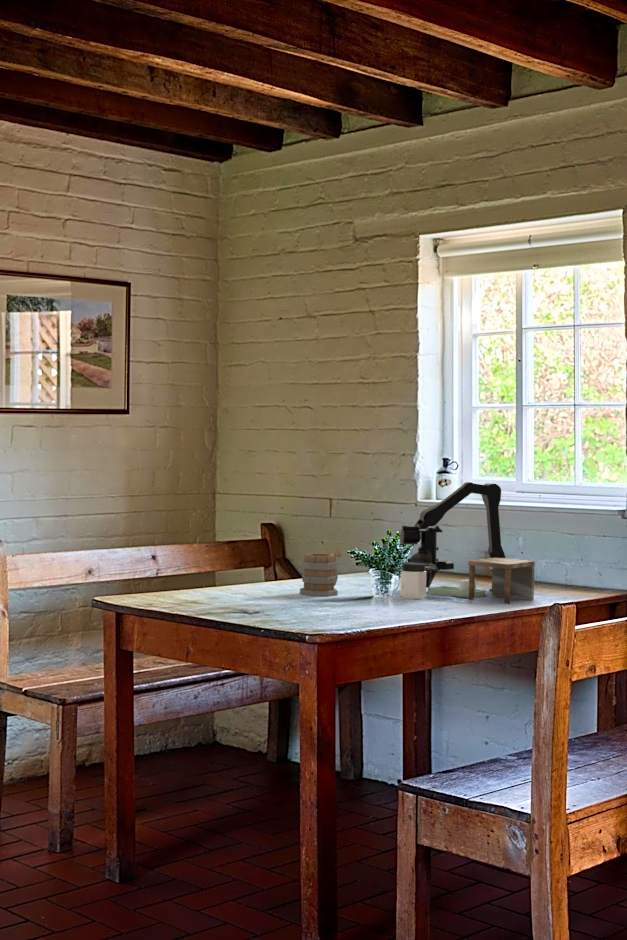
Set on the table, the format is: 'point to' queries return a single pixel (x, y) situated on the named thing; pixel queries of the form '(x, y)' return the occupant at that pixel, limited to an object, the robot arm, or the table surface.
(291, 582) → the table surface
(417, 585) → the jar
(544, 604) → the table surface
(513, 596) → the stand
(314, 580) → the tankard
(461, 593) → the tray
